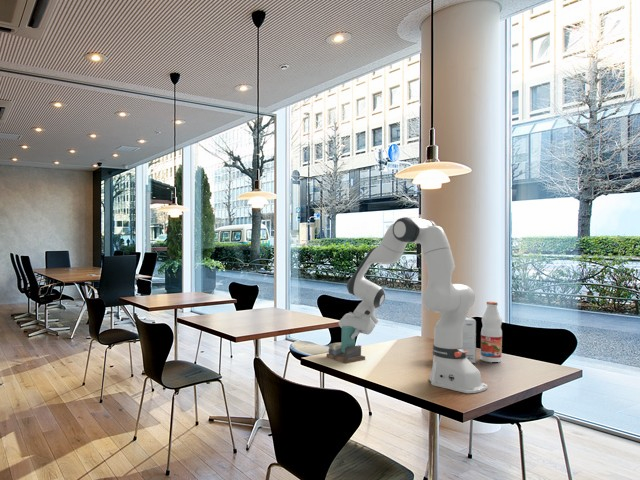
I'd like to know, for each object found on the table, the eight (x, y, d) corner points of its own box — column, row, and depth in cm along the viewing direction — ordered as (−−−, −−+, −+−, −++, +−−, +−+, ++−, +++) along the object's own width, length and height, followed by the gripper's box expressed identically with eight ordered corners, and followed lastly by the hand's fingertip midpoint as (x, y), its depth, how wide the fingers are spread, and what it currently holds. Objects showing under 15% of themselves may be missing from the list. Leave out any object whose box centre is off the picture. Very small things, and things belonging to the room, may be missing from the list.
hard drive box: (472, 359, 221) (473, 318, 221) (476, 363, 214) (476, 320, 214) (439, 357, 223) (440, 316, 223) (442, 361, 215) (442, 319, 215)
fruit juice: (504, 360, 220) (506, 302, 220) (496, 364, 213) (497, 303, 213) (486, 357, 226) (487, 300, 227) (477, 360, 220) (478, 301, 220)
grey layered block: (365, 359, 216) (365, 345, 216) (345, 363, 209) (346, 349, 209) (345, 353, 227) (345, 340, 227) (326, 357, 220) (326, 343, 220)
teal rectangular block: (354, 352, 217) (355, 326, 217) (346, 353, 214) (347, 327, 214) (349, 350, 220) (349, 325, 220) (341, 351, 217) (341, 326, 217)
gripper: (345, 307, 229) (329, 329, 223) (374, 313, 213) (358, 336, 207) (351, 315, 232) (336, 337, 226) (380, 321, 216) (365, 345, 210)
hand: (347, 337), depth 216 cm, fingers closed on teal rectangular block, 4 cm apart
